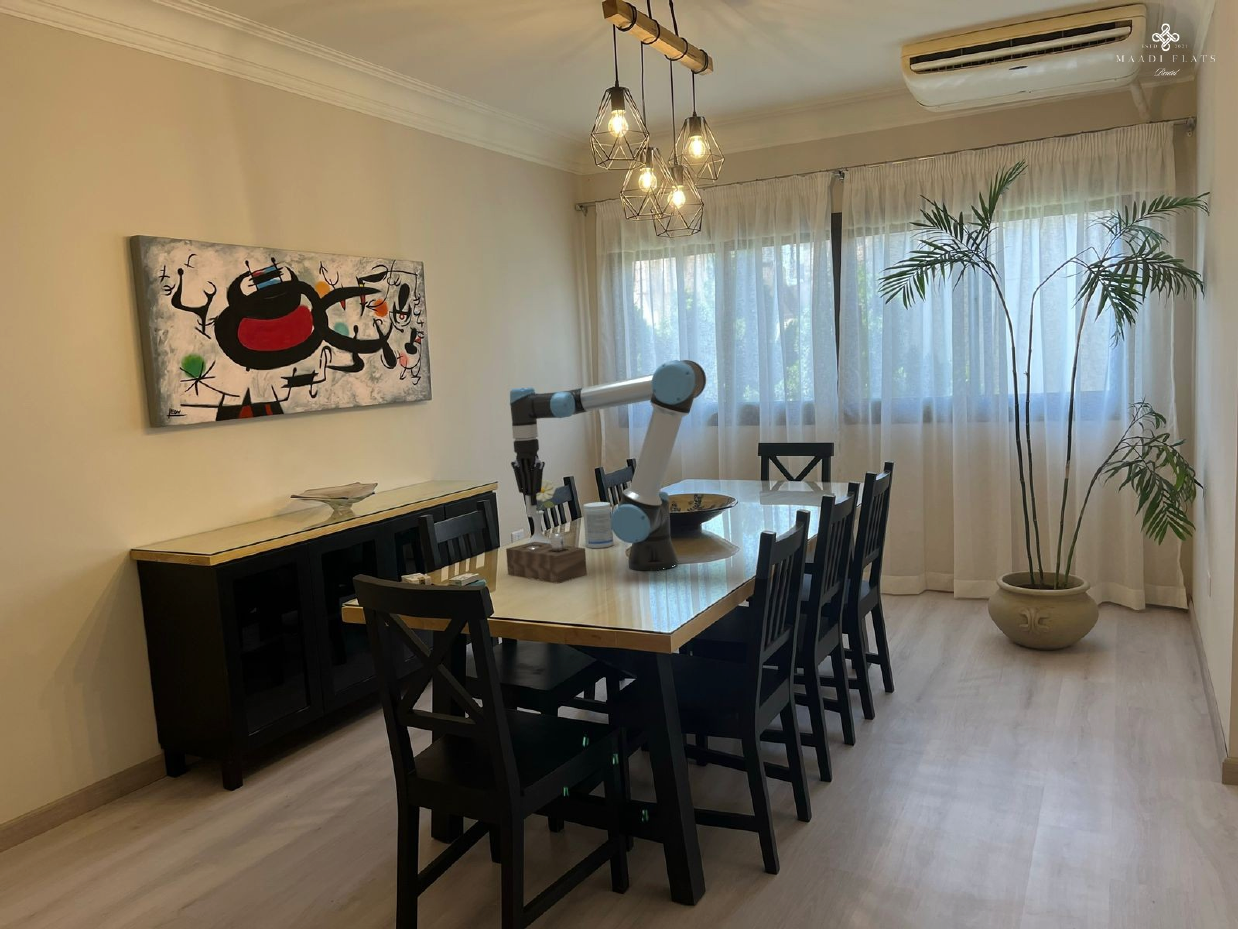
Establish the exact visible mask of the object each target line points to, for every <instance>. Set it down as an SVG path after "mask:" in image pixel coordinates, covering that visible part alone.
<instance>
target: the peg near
mask: <svg viewBox="0 0 1238 929" xmlns="http://www.w3.org/2000/svg"><path fill="white" fill-rule="evenodd" d="M564 535H565V533H564V532H561V531H560V532H552V533H549V537H550V538H549V539H550V541H551V552H556V553H559V552H562V551H565V548H564V546H565V537H564Z"/></svg>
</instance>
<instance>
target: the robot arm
mask: <svg viewBox="0 0 1238 929" xmlns="http://www.w3.org/2000/svg"><path fill="white" fill-rule="evenodd" d="M706 386H707V376H706V373H705V370H704V368H703V367H702V366H701V365H700V364H699V363H697V362H695V361H693V360H690V359H683V360H678V359H674V360H670V361H667V362H665V363H663V364H661V365H660V366H658V368H656V369H655V371H654V373H652V374H646V375H641V376H636V377H630V378H627V379H621V380H615V381H610V382H605V383H601V384H595V385H591V386H585V387H580V388H575V389H569V390H565V391H564V390H563V391H562V390H561V391H554V392H543V393H536V392H535V389H534V387H531V386H530V387H520V388H519V387H517V388H512V389H511V390H510V391H509V406H510V414H511V422H512V423H511V430H512V438H513V439H514V441H513V453H516V456H515V460H513V461H511V462H510V465H511V467H512V469H513V473H514V477H515V480H516V485H517V489H518V492H519V493H520V494H523V496H524V504H525V508H526V517H527V518H532V517H533V516H537V511H538V510H537V507H536V506H537V505H538V500H537V498H536V495H537V493H540V492H541V487H542V479H543V473H544V468H545V464H546V462H545V461H541V460H540V459H539V455H538V452H539V451H540V445H539V439H538V437H539V432H538V421H537V420H539V419H557V418H558V419H562V418H570V417H572V416H573V415H578V414H583V413H587V412H593V411H599V410H604V409H605V410H606V409H609V408H615V407H620V406H626V405H631V404H637V403H641V402H642V403H643V402H648V401H649V403H650V405H651V407H652V413H651V416H650V418H649V422H648V426H647V429H646V431H645V432H646V433H645V436H644V439H643V443H642V446H641V449H640V452H639V453H640V454H639V456H638V459H637V463H636V467H635V470H634V473H633V476H632V480H631V483H630V486H629V487H627V488H626V489H624V490H623V491H622V495H621V499H620V501H619V504H618V506H617V507H616V508H615V510H613V512H612V513H611V515H612V516H611V527H612V530H613V534H614V535H615V536H616V537H617V538H618V539H619V540H621V541H622V542H625V543H628V544H632V545H631V546H630V552H629V557H628V559H627V560H628V561H627V563H628V568H629V569H631V570H636V571H644V570H653V571H659V570H658V569H663V568H669V569H671V568H670V567H672V566H674V565H677V563H679V562H678V555H677V554H676V551H675V548H674V545H673V542H672V540H671V539H672V537H671V518H670V515H671V514H670V504H671V502H670V500H669V494H668V492H667V491H661V488H662V486H663V485H662V484H663V482H664V479H665V476H666V473H667V469H668V465H669V463H670V460H671V456H672V452H673V449H674V446H675V443H676V439H677V436H678V433H679V430H680V426H681V423H682V420H683V418H684V417H687V415H689V414H690V412H691V409H692V407H693V404H694V399H696V398H698V397H699V396H700V395H701V394H702V393H703V391H704V390H705V388H706ZM677 566H678V565H677ZM672 568H673V567H672ZM663 570H664V569H663Z"/></svg>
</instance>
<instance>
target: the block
mask: <svg viewBox="0 0 1238 929" xmlns="http://www.w3.org/2000/svg"><path fill="white" fill-rule="evenodd" d="M529 546H539V548H535V549H528V548H527V547H529ZM564 548H565V551H562V552H559V553H556V552H551V544H550V543H542V542H531V543H527V544H525V543H524V544H520V545H516V546H512V547H508V548H506V549H505V551H506V564H507V565H506V566H507V567H506V568H507V575H509V576H514V575H516V576H515V577H520V578H527V579H531V578H534V579H533V580H537V579H539V580H538V581H543V580H544V582H548V581H549V583H554V582H557V583H556V584H559V583H558V582H560V583H563V582H567V581H570V580H573V579H576V578H580V577H583V575H584V576H587V575H588V574H587V558H586V554H587V553H586V548H585V547H578V546H571V545H564ZM572 578H573V579H572ZM569 579H570V580H569ZM566 580H567V581H566Z"/></svg>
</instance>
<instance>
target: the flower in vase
mask: <svg viewBox="0 0 1238 929" xmlns="http://www.w3.org/2000/svg"><path fill="white" fill-rule="evenodd" d="M555 492H556V487H555V485H554V484H553V482H552V481H551V480H548V479H543V478H542V487H541V492H540V493H537V495H536V498H537V502H538V501H540V502H542V504H541V505H540V507H539V506H537V505H536V509H538V510H537V516H533V517H531V518H532V520H533V524H534V533H533V535H532V536H531V537H530V538H529V539H528V540H527V541H526V542H524V544H527V543H531V542H542V543H550V544H551V541H550V538H549V537H548V536H546V535H545V534H544V533H543V531H542V518H543V515H544V513H545V511H543V510H541V509H542V507H543V506H544V508H546V509H552V508H555V507H556V505H555V504H554V503H553V502H552V501H550V500H551V499H552V498H553V497H554V494H555Z"/></svg>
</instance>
